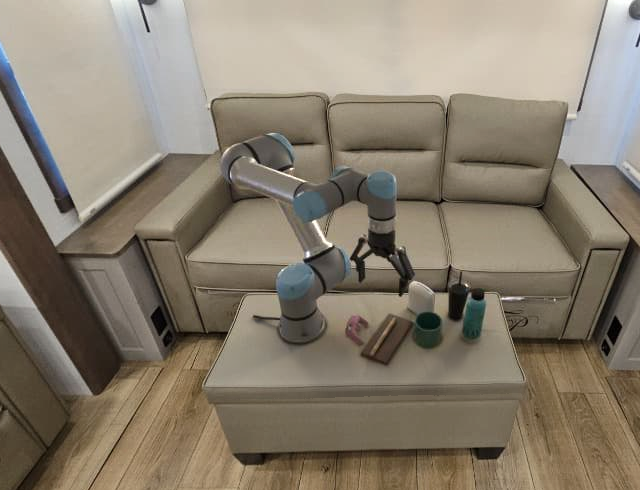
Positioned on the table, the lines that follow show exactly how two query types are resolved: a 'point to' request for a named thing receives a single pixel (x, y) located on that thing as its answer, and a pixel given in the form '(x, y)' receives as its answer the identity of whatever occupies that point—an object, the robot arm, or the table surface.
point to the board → (387, 339)
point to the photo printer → (420, 298)
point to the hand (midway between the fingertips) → (381, 287)
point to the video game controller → (354, 327)
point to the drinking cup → (457, 297)
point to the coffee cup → (427, 329)
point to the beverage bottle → (474, 314)
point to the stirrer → (383, 337)
